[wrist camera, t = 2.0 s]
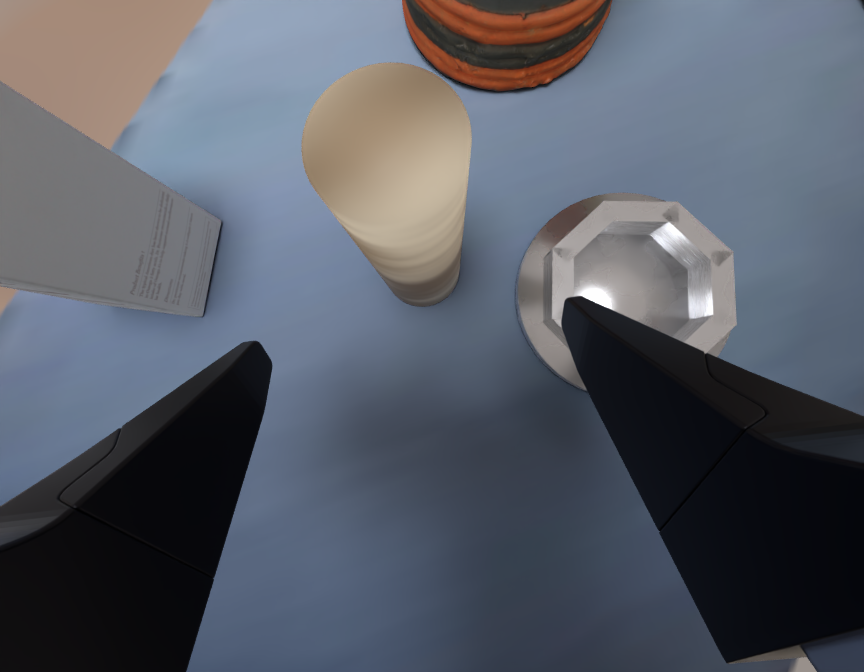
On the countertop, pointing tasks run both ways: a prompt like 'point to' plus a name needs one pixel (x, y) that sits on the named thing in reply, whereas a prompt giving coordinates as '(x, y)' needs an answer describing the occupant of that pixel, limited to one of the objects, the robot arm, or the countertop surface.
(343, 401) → the countertop surface
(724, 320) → the socket ring
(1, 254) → the supplement box
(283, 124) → the countertop surface
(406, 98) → the knob post
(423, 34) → the beer stein
